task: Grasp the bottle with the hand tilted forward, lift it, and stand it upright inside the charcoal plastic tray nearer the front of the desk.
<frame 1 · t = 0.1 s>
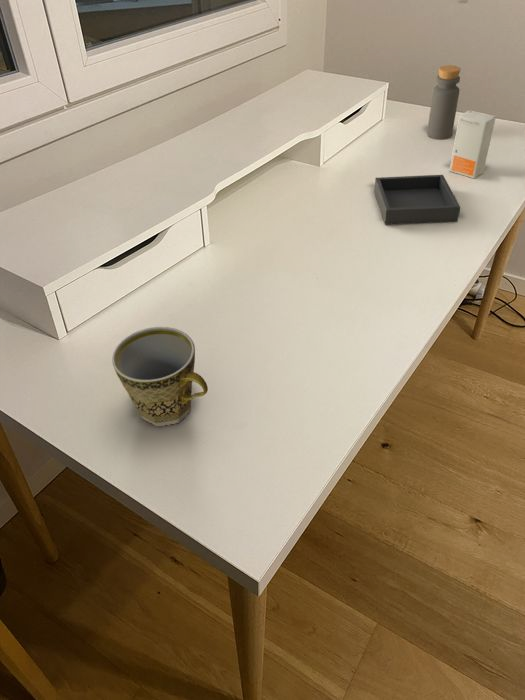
bottle: (439, 135, 141), on the table
cosmetic box: (466, 173, 125), on the table
tray: (413, 206, 115), on the table
ceramic cup: (174, 413, 77), on the table
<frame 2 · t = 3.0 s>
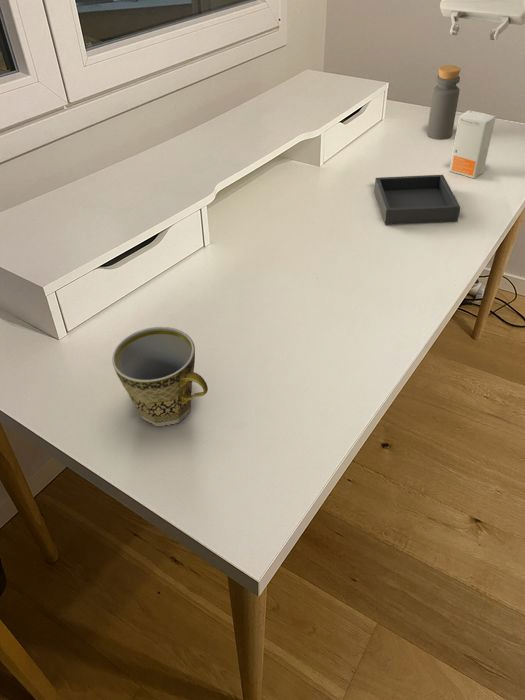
hand: (472, 36, 135), 19 cm above the table, tool tilted 45°, fingers open, 8 cm apart
nothing on the table moved.
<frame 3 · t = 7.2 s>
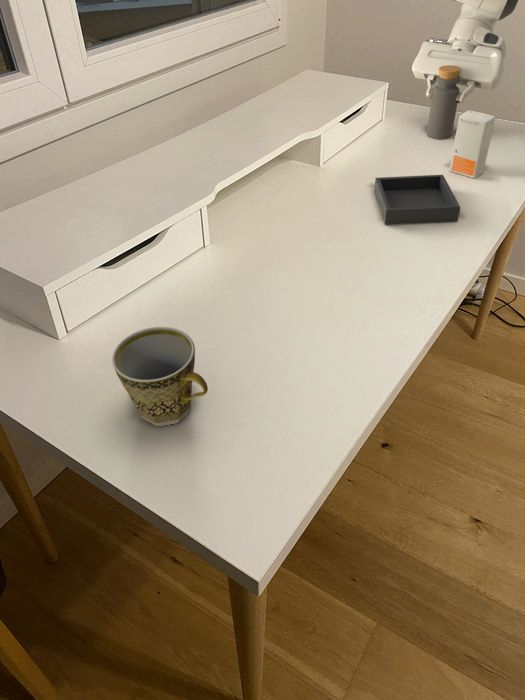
hand: (443, 99, 135), 8 cm above the table, tool tilted 45°, fingers closed on bottle, 6 cm apart
bottle: (439, 135, 141), on the table, touching gripper
everything else where it was.
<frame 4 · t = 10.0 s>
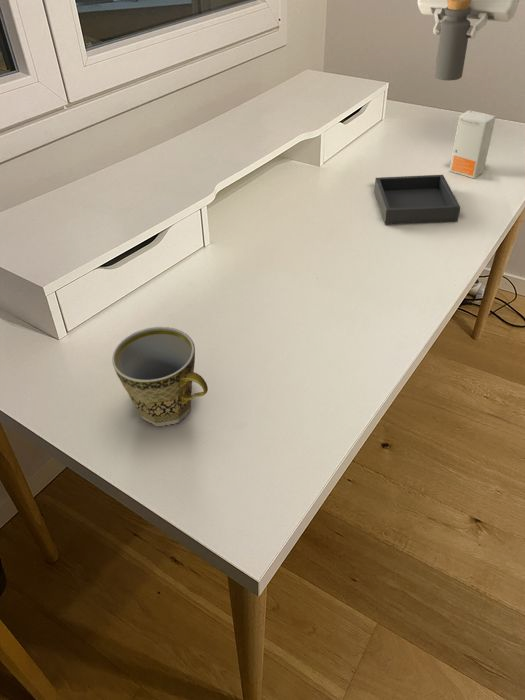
hand: (453, 34, 122), 23 cm above the table, tool tilted 45°, fingers closed on bottle, 6 cm apart
bottle: (447, 77, 128), point 14 cm above the table, touching gripper
everything else where it was.
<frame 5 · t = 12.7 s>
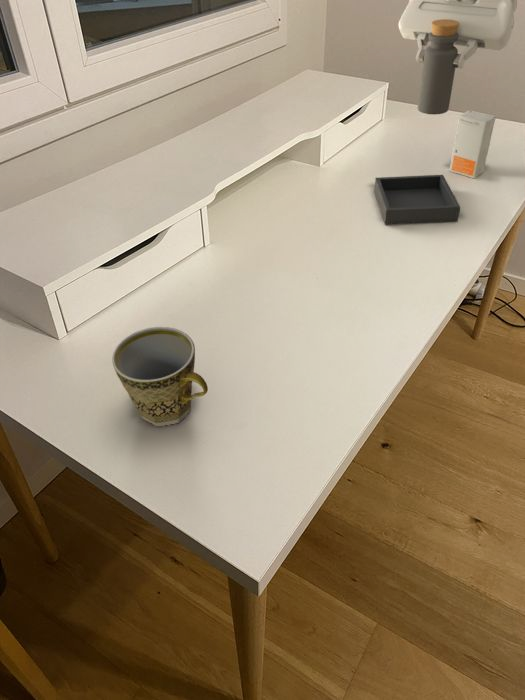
hand: (438, 63, 107), 23 cm above the table, tool tilted 45°, fingers closed on bottle, 6 cm apart
bottle: (432, 110, 113), point 15 cm above the table, touching gripper
everything else where it was.
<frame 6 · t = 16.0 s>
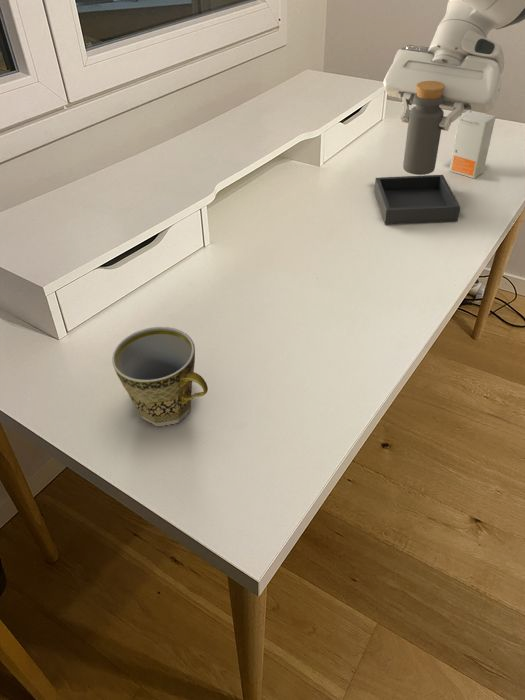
hand: (423, 125, 104), 16 cm above the table, tool tilted 45°, fingers closed on bottle, 6 cm apart
bottle: (418, 169, 110), point 8 cm above the table, touching gripper
everything else where it was.
when the fingers open (9 cm above the table, at t = 18.5 s): bottle stays where it is, resting on tray.
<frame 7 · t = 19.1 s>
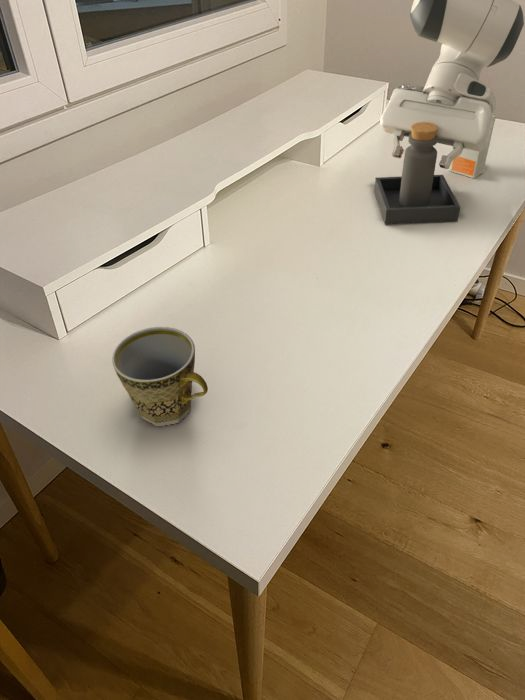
hand: (419, 161, 108), 9 cm above the table, tool tilted 45°, fingers open, 8 cm apart
bottle: (413, 204, 115), resting on tray
everything else where it was.
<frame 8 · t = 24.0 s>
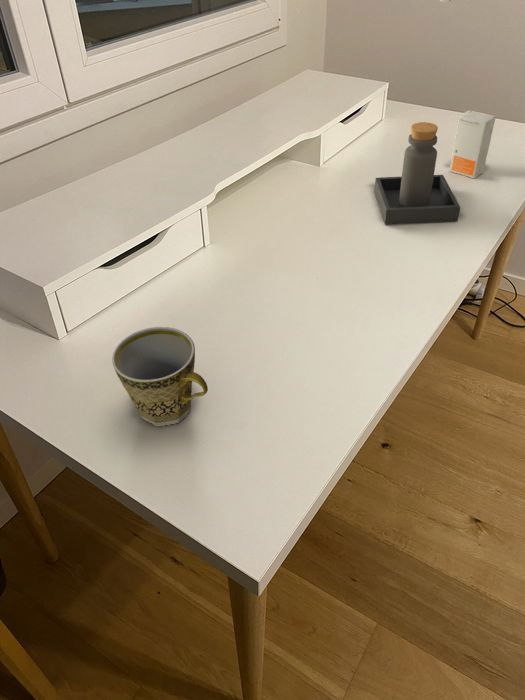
nothing on the table moved.
at the end: bottle inside the target area in the tray (0.1 cm from its centre), point 0.4 cm above the tray's base; bottle tilted 0°; the gripper is holding nothing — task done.
